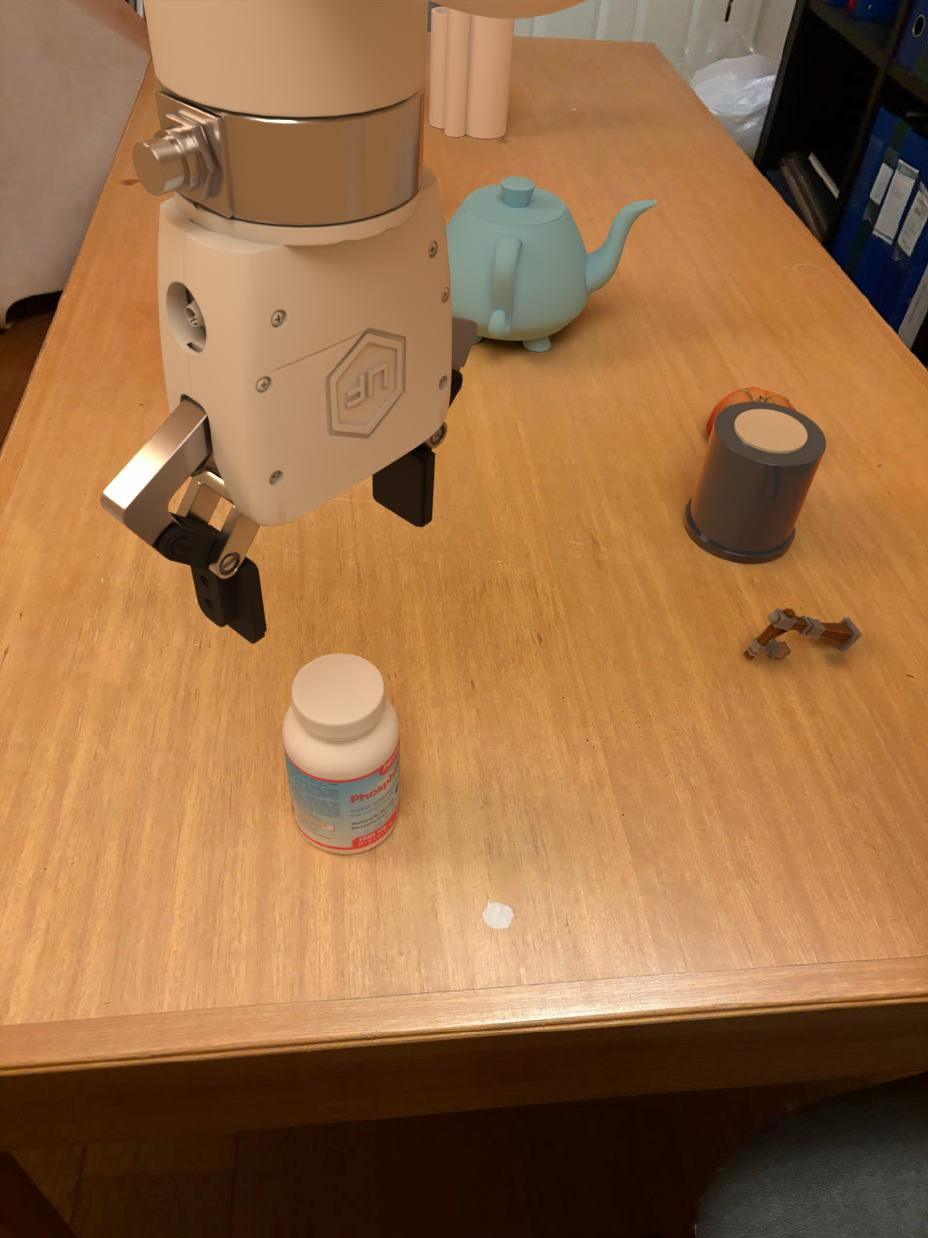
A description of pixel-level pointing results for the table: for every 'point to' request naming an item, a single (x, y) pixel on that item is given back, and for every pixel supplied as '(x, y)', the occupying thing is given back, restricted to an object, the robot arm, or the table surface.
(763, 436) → the upturned cup
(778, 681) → the table surface
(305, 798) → the pill bottle
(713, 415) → the tomato
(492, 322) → the teapot
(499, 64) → the vase
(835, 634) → the wooden post with brackets
